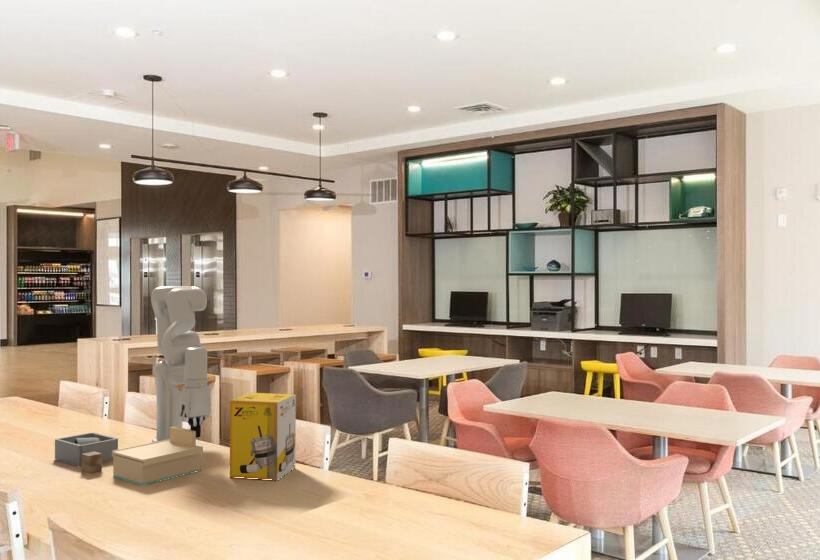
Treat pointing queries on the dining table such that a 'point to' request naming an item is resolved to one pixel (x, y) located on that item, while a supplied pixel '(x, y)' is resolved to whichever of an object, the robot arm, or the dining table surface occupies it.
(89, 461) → the walnut block
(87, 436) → the coaster tray
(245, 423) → the packaging box
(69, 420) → the dining table surface
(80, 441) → the ceramic mug
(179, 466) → the base
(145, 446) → the lid
